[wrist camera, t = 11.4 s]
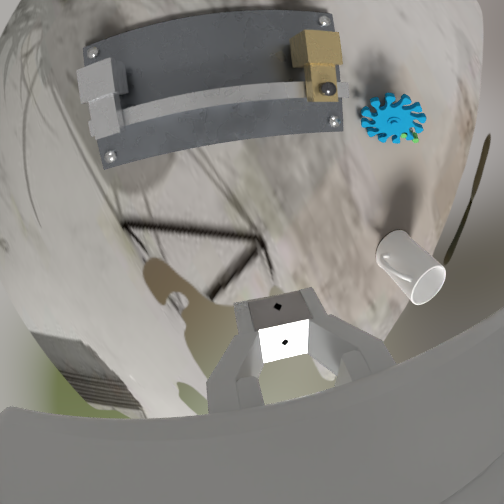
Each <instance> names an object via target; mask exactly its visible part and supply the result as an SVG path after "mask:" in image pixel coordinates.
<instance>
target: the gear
mask: <svg viewBox="0 0 504 504" xmlns="http://www.w3.org/2000/svg"><path fill="white" fill-rule="evenodd" d="M394 101H395V95H394V94H393V93H386V94H385V102H386V103H385V105H384V106H382V107H380V101H379V98H378V97H374V98H371V99H370V102H371V105H372V106H373V107H375V108H376V110H377V112H376V113H372V112H370V109H369V107H367V106H365V107H363V108H362V110H361V114H362V115H363V116H366V117H370V118H372V119H373V120H374V121H369V120H368V119H367V118H362V119H361V125H362V127H364V128H365V127H369V128H367V133H368V135H369V136H370V137H373V136H375V135H376V134H379V133H382V134H379V135H378V140H379V141H381V142H383V143H384V142H386V140H387V138H388V137H390V136H391V135H393V136H392V142H393V143H400V136H401V137H402V138H406V140H412V141H413V142H414V143H417V142H418V141H419V140H418V136H417V133H421V132H422V131H423V127H422V125H421V124H418V123H415V122H414V121H413V120H414V119H417V120H418V121H419V122H420V123H425V121H426V116H425V114H424V113H420V114H415V113H411V111H415V112H418V113H419V112H422V108H421V106H420V103H419V102H415V103H414V104H412V105H410V106H403V105H408V104H410V103H411V99H410V97H409V96H408V95H406V94H403V95H402V96H401V99H400V100H399V101H398V102H397V103H395V104H392V102H394ZM371 127H376V128H371ZM412 127H414V128H415V131H416V133H415V132H413V130H412ZM412 132H413V133H412Z"/></svg>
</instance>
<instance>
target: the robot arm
mask: <svg viewBox="0 0 504 504" xmlns="http://www.w3.org/2000/svg"><path fill="white" fill-rule="evenodd" d="M234 310H235V315H236V322H237V327H238V333H239V335H235V336H234V338H233V340H232V341H231V343H230V345H229V346H228V348H227V349H226V351H225V353H224V355H223V356H222V358H221V359H220V361H219V363H218V364H217V366H216V367H215V369H214V371H213V372H212V374H211V376H210V377H209V379H208V380H207V382H206V386H207V399H208V411H209V414H205V415H196V416H185V417H171V418H150V419H111V418H89V417H78V416H68V415H59V414H51V413H45V412H38V411H32V410H27V409H22V408H18V407H7V408H6V409H5V410H3V411H2V412H1V413H0V504H504V307H503V308H501V309H500V310H498V311H497V312H495V313H494V314H492V315H491V316H489V317H487V318H486V319H484V320H483V321H481V322H479V323H478V324H476V325H475V326H473V327H471V328H469V329H468V330H466V331H464V332H462V333H461V334H459V335H457V336H455V337H453V338H451V339H449V340H448V341H446V342H444V343H442V344H440V345H438V346H436V347H434V348H432V349H430V350H428V351H426V352H424V353H421V354H419V355H417V356H415V357H413V358H411V359H408V360H406V361H404V362H401V363H399V364H396V363H395V361H394V359H393V358H392V356H391V354H390V353H389V351H388V349H387V348H386V346H385V345H384V343H383V341H382V340H380V339H378V338H376V337H374V336H373V335H371V334H369V333H367V332H365V331H363V330H361V329H359V328H357V327H355V326H353V325H351V324H349V323H347V322H345V321H343V320H341V319H339V318H337V317H336V316H334V315H332V314H330V315H327V313H326V311H325V309H324V307H323V306H322V304H321V302H320V300H319V298H318V296H317V295H316V293H315V291H314V289H313V288H312V287H309V288H305V289H301V290H299V291H293V292H289V293H284V294H279V295H275V296H269V297H264V298H258V299H252V300H247V301H242V302H235V303H234ZM303 353H308V354H309V355H310V356H311V357H313V358H314V359H315V360H317V361H318V362H319V363H320V364H322V365H323V366H324V367H326V368H327V369H328V370H330V371H331V372H332V373H334V374H335V375H336V376H337V379H336V383H335V387H333V388H330V389H327V390H324V391H320V392H317V393H313V394H309V395H306V396H302V397H298V398H294V399H290V400H286V401H281V402H277V403H272V404H267V405H264V401H263V397H262V393H261V389H260V385H259V380H258V378H259V375H260V373H261V370H262V368H263V365H264V362H268V361H273V360H277V359H281V358H285V357H289V356H294V355H298V354H303Z"/></svg>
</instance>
